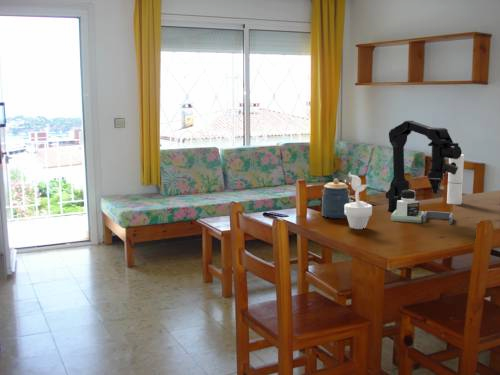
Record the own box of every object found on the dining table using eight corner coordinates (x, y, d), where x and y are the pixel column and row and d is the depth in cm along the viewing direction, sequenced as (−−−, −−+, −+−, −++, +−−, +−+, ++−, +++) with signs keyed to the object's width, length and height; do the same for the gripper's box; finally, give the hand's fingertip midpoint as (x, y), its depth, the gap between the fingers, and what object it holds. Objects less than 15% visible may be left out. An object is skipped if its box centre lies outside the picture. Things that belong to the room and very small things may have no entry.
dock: (422, 222, 262) (422, 215, 262) (425, 217, 272) (425, 210, 272) (451, 224, 258) (451, 217, 257) (452, 219, 268) (453, 212, 267)
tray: (390, 220, 266) (391, 215, 266) (395, 214, 278) (395, 209, 277) (420, 222, 261) (421, 217, 261) (424, 216, 273) (424, 211, 273)
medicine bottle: (406, 218, 265) (407, 192, 263) (396, 215, 271) (397, 189, 269) (419, 217, 268) (420, 190, 266) (408, 214, 274) (409, 188, 272)
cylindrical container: (462, 202, 307) (464, 154, 303) (460, 204, 300) (463, 155, 296) (447, 201, 310) (450, 153, 306) (446, 203, 303) (448, 155, 299)
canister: (322, 219, 270) (322, 180, 267) (320, 213, 283) (321, 176, 280) (351, 219, 269) (352, 180, 267) (348, 213, 282) (348, 176, 279)
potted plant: (338, 226, 256) (339, 168, 252) (361, 223, 260) (362, 167, 256) (354, 232, 244) (356, 172, 240) (378, 229, 249) (380, 170, 245)
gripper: (456, 160, 249) (454, 196, 252) (459, 155, 266) (457, 189, 269) (428, 159, 254) (426, 195, 256) (433, 154, 271) (431, 188, 273)
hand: (436, 191), depth 263 cm, fingers open, 9 cm apart
